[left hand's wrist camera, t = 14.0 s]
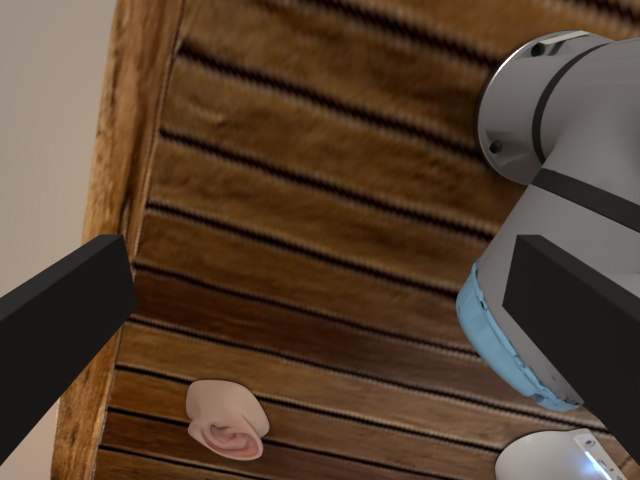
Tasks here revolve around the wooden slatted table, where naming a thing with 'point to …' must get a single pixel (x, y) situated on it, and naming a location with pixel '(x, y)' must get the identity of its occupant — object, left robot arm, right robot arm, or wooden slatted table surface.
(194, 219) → the wooden slatted table surface
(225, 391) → the anatomical model
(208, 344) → the wooden slatted table surface
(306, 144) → the wooden slatted table surface
